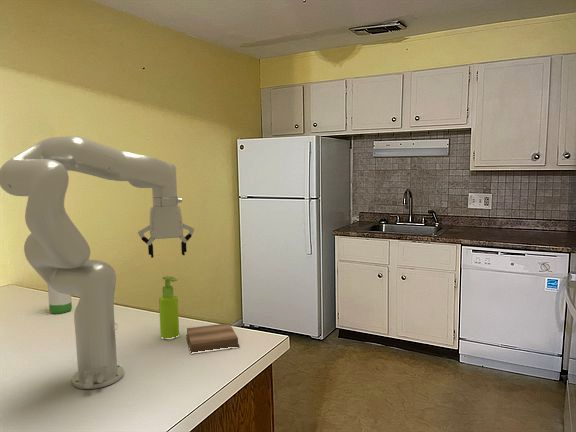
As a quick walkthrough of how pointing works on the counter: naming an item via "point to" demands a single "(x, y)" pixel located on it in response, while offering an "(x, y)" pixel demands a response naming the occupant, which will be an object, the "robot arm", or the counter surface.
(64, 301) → the wine bottle
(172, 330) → the soap dispenser
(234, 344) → the plinth
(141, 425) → the counter surface
